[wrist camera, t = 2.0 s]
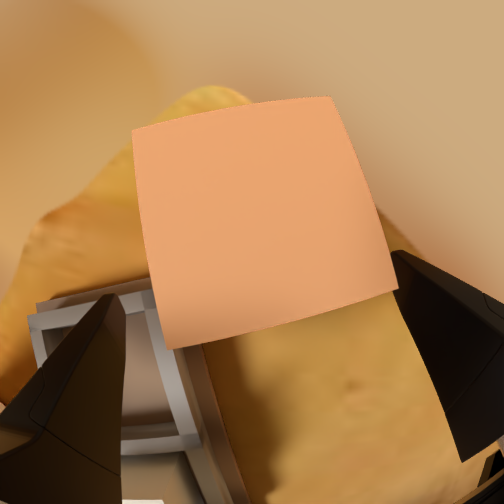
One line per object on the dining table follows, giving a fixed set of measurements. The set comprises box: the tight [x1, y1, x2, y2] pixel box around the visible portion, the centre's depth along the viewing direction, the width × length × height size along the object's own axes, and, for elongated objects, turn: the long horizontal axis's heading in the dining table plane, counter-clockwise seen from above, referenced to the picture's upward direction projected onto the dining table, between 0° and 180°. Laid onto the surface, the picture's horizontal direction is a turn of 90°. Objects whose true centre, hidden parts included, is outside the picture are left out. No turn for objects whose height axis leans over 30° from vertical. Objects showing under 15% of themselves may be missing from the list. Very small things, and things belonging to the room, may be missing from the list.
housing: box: [27, 277, 252, 504], centre depth 15 cm, size 19×11×4 cm, turn 14°
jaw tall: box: [132, 96, 399, 350], centre depth 13 cm, size 5×5×13 cm
